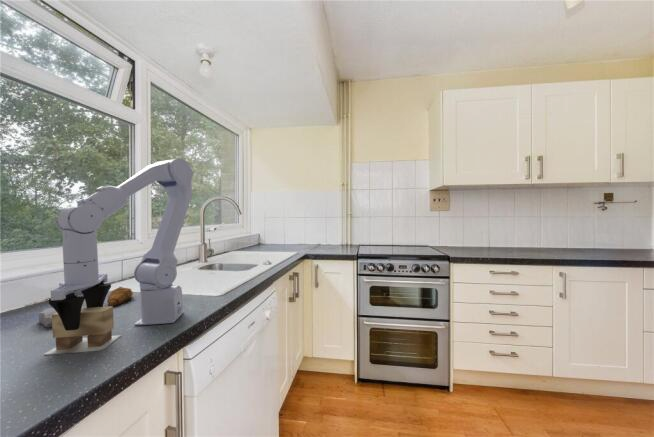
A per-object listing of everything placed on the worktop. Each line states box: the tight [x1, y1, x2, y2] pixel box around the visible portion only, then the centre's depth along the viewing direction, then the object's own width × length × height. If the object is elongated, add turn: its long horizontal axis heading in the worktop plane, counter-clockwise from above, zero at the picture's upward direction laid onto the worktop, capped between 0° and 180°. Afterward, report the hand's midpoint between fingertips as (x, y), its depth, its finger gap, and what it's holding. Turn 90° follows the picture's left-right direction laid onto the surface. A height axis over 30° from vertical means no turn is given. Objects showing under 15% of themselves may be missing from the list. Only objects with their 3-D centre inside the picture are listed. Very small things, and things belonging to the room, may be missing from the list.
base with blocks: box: [43, 330, 122, 356], centre depth 63 cm, size 11×7×3 cm, turn 98°
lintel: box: [51, 306, 115, 339], centre depth 63 cm, size 10×3×5 cm, turn 99°
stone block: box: [38, 299, 87, 328], centre depth 79 cm, size 12×5×10 cm
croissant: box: [106, 286, 134, 308], centre depth 94 cm, size 14×7×5 cm, turn 17°
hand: (84, 322), depth 63 cm, fingers open, 7 cm apart
